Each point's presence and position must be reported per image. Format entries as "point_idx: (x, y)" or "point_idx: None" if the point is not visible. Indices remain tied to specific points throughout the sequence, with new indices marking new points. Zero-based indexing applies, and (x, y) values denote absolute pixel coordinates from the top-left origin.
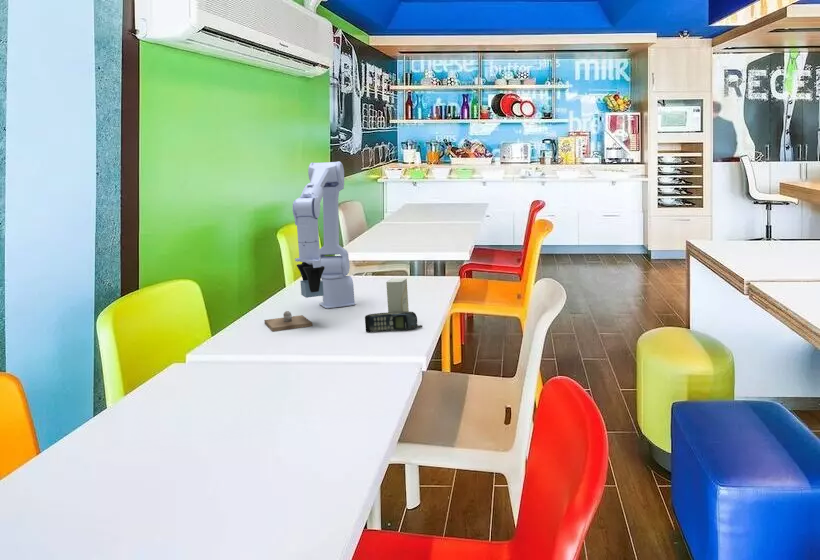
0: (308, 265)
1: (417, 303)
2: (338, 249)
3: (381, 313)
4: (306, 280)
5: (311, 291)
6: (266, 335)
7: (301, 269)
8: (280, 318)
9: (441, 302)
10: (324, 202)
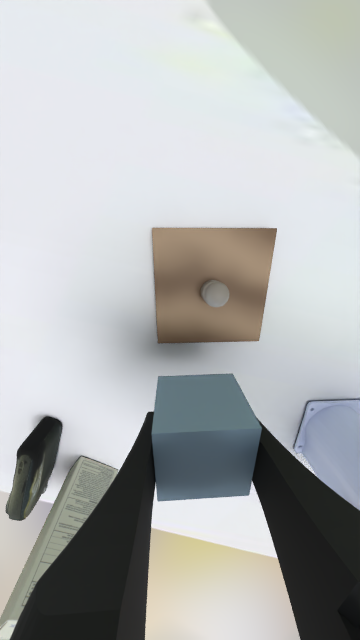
0: (323, 626)
1: (229, 517)
2: None
3: (21, 480)
4: (242, 452)
5: (147, 415)
6: (112, 198)
7: (316, 538)
8: (261, 280)
9: (211, 537)
10: None
